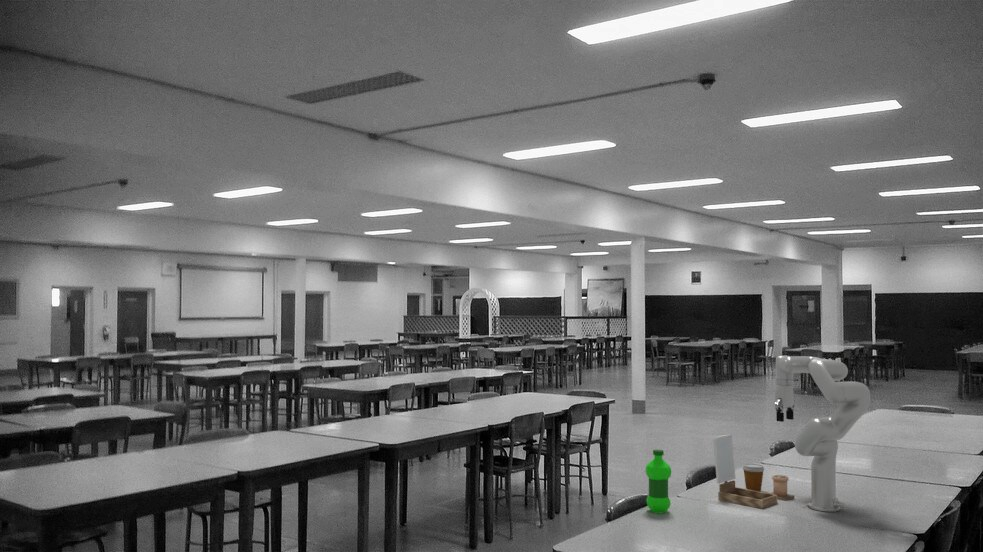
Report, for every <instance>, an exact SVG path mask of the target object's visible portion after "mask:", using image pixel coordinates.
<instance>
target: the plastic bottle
mask: <svg viewBox="0 0 983 552" xmlns="http://www.w3.org/2000/svg"><path fill="white" fill-rule="evenodd" d="M664 453H665V451H664V450H662V449H657V448H656V449H653V450H652V455H653V456H654V458H653V459H651V460H650V461H649V462H648V463H647V464H646V465H645V474H646V477H648V495H647V497H646V505H647V507H648V509H649V510H650V511H651V512H652V513H655V514H664V513H665V512H666V511H668V510H669V509H670V507H671V499H670V498H669V479H670V478H671V476H672V469H671V466H670V464H669V463H668V462H667V461H666V460H664V459H663V456H664Z"/></svg>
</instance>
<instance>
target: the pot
mask: <svg viewBox="0 0 983 552" xmlns="http://www.w3.org/2000/svg"><path fill="white" fill-rule="evenodd" d="M771 479H772V480H773V481H772V482H773V484H772V485H773V488H772V489H773V491H772V492H773V493H774V495H777V496H781V497H785V496H787V494H788V482H789V481H790V480H789V476H787V475H782V474H781V475H779V474H774V475H772V476H771Z"/></svg>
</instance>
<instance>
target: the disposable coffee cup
mask: <svg viewBox="0 0 983 552" xmlns="http://www.w3.org/2000/svg"><path fill="white" fill-rule="evenodd" d="M742 470H743V475H744V485H745V489H748V490H753V491H758V492H762V486H763V485H762V484H763V478H764V477H763V476H764V470H765V468H764V465H763V464H760V463H744V464H743V466H742Z"/></svg>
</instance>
